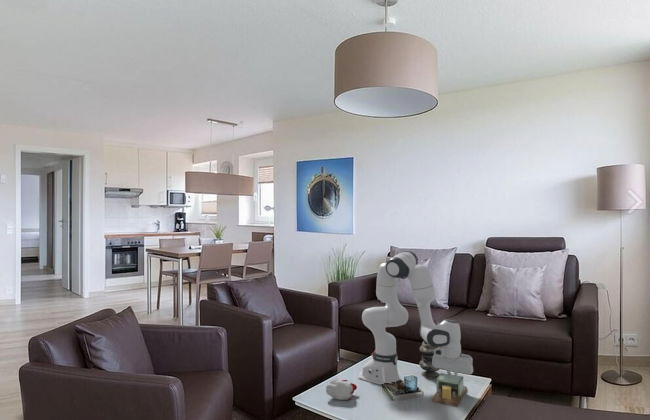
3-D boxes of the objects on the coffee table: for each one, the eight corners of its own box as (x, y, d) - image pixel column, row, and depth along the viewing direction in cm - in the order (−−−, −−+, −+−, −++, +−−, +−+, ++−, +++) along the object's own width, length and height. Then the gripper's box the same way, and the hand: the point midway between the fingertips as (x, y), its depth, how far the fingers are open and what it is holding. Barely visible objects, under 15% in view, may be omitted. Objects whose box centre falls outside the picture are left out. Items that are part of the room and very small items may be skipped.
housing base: (431, 401, 199) (431, 392, 199) (442, 384, 218) (442, 376, 219) (457, 406, 193) (457, 397, 193) (466, 388, 213) (466, 380, 213)
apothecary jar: (428, 380, 225) (427, 346, 225) (415, 373, 236) (414, 340, 236) (446, 376, 229) (446, 343, 229) (433, 369, 240) (432, 338, 241)
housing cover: (436, 392, 206) (436, 379, 206) (441, 385, 214) (440, 373, 214) (460, 396, 201) (459, 382, 201) (463, 389, 209) (463, 376, 209)
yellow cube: (442, 398, 199) (442, 388, 200) (442, 394, 203) (442, 385, 203) (451, 399, 198) (451, 389, 198) (451, 395, 202) (451, 386, 202)
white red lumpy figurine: (324, 398, 203) (345, 393, 214) (341, 405, 195) (362, 399, 206) (325, 379, 204) (346, 374, 215) (342, 385, 196) (363, 380, 207)
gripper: (474, 354, 209) (475, 382, 208) (435, 346, 221) (436, 373, 221) (470, 357, 204) (471, 386, 203) (430, 349, 216) (431, 377, 216)
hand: (452, 379), depth 212 cm, fingers closed
